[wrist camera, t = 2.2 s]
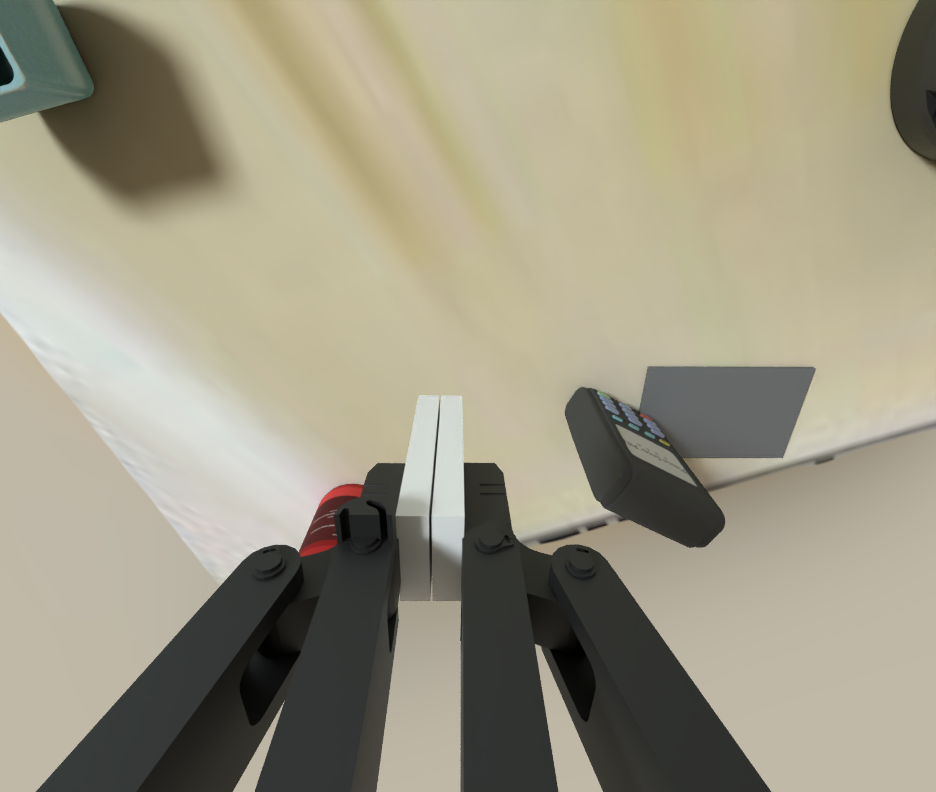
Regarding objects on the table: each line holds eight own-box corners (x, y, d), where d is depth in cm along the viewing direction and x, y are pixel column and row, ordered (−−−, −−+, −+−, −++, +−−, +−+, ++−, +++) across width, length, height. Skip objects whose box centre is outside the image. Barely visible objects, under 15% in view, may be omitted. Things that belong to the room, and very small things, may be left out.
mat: (812, 367, 43) (815, 368, 42) (780, 455, 47) (782, 457, 46) (648, 366, 42) (649, 368, 42) (630, 455, 46) (631, 458, 46)
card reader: (660, 418, 44) (740, 521, 30) (635, 448, 45) (701, 559, 32) (582, 377, 42) (630, 467, 29) (559, 410, 44) (594, 510, 30)
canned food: (365, 549, 51) (343, 637, 41) (305, 513, 48) (267, 597, 38) (407, 508, 48) (395, 591, 39) (346, 468, 46) (317, 546, 36)
